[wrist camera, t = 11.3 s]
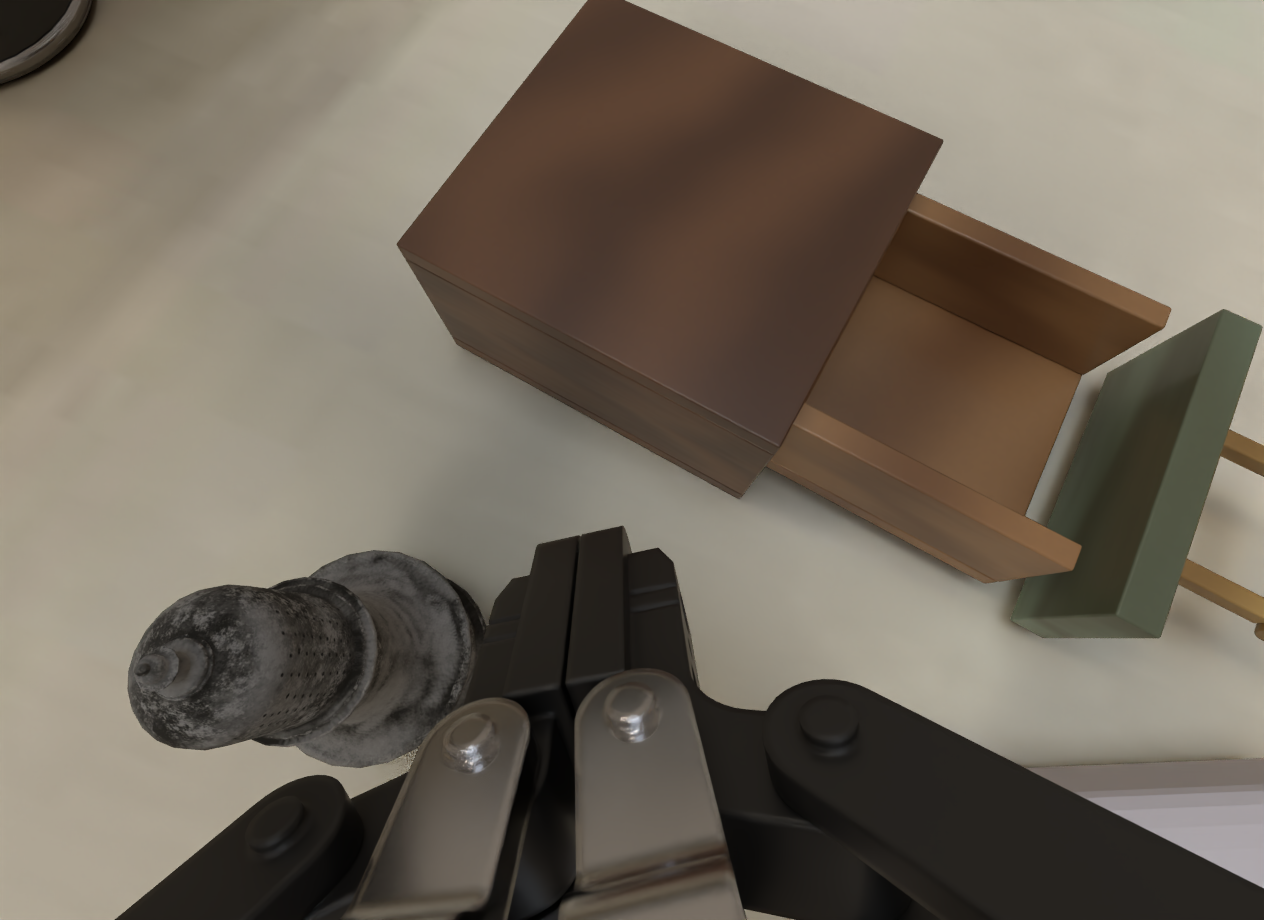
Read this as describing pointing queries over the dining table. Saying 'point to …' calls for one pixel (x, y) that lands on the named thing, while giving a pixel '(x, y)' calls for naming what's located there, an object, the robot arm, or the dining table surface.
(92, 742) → the dining table surface
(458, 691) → the salt shaker
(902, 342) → the drawer
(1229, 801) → the charger
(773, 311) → the cabinet
